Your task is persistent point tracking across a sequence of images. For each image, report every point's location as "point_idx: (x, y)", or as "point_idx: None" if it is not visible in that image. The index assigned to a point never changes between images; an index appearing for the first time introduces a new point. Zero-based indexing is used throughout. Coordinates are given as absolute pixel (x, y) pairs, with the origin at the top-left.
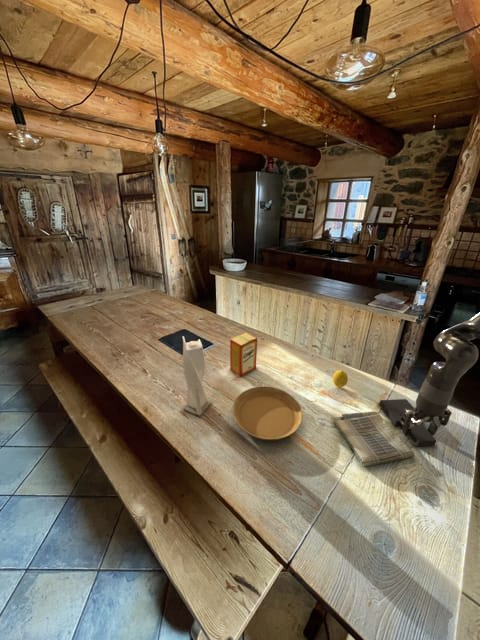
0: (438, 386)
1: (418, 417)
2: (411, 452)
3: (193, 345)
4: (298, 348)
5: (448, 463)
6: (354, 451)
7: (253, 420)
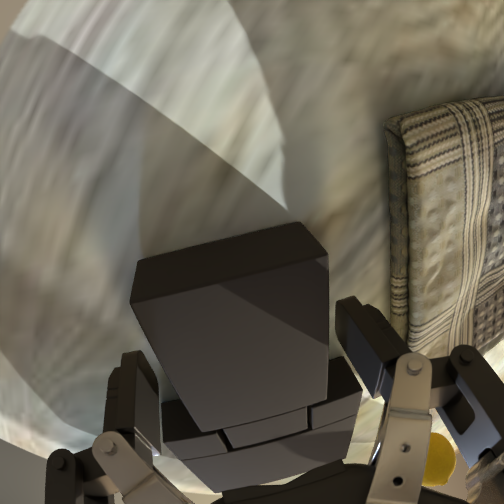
0: None
1: (436, 497)
2: (425, 135)
3: None
4: None
5: (91, 96)
6: None
7: None
